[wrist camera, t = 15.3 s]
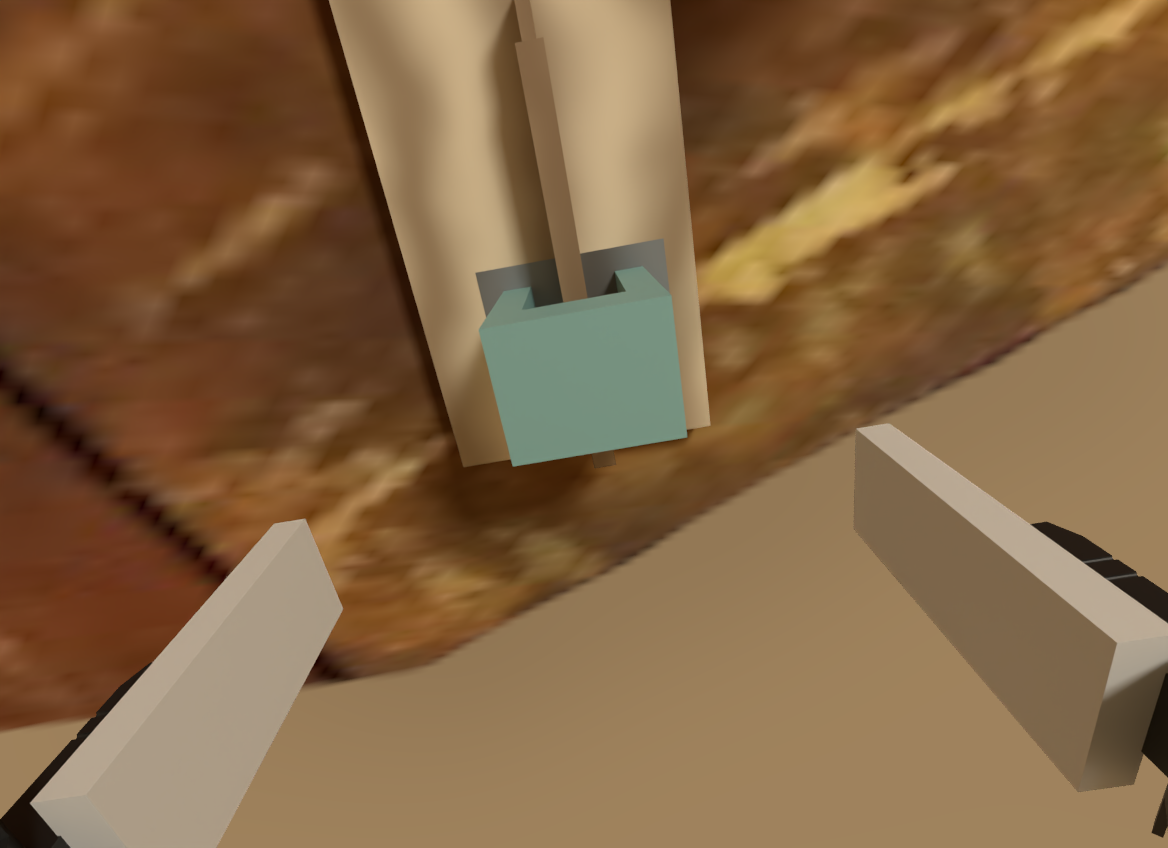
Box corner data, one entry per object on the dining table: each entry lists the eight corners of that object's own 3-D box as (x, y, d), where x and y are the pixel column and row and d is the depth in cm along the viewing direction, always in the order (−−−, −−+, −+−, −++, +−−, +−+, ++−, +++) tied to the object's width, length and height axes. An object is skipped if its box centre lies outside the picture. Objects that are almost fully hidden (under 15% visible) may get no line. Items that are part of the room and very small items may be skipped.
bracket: (527, 395, 32) (512, 466, 24) (503, 291, 30) (478, 329, 22) (656, 373, 32) (687, 437, 24) (642, 266, 30) (671, 295, 21)
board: (468, 453, 36) (454, 491, 31) (278, -225, 24) (207, -327, 19) (702, 413, 35) (723, 447, 30) (631, -305, 23) (647, -430, 18)
